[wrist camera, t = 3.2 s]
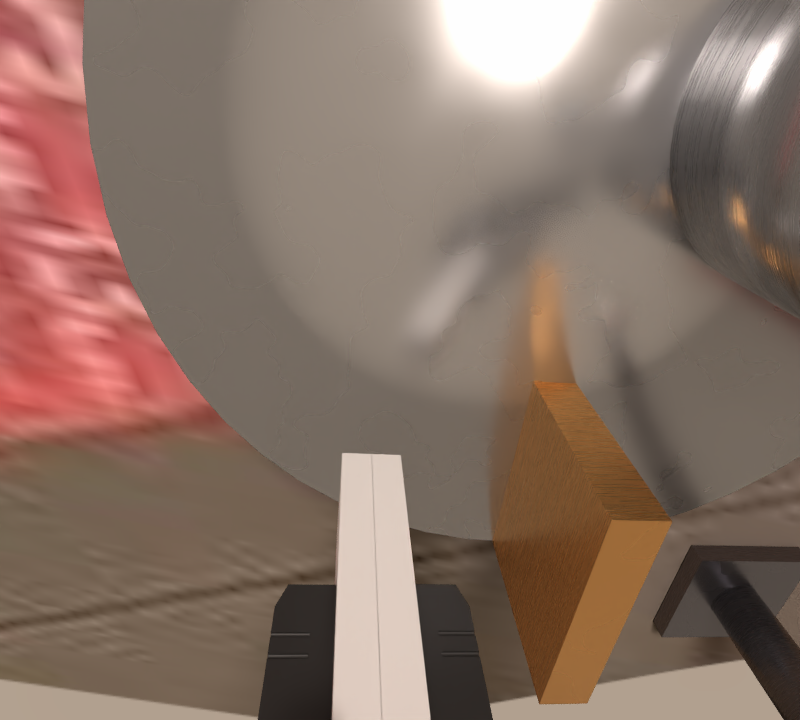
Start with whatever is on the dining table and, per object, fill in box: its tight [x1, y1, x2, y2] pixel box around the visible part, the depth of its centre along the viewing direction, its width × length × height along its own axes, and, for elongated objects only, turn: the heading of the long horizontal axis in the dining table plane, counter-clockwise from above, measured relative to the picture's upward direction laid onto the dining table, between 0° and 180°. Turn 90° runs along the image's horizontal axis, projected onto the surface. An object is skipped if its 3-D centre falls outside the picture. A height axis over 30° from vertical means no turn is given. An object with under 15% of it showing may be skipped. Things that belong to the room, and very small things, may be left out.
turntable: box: [83, 0, 800, 704], centre depth 11 cm, size 22×22×7 cm
